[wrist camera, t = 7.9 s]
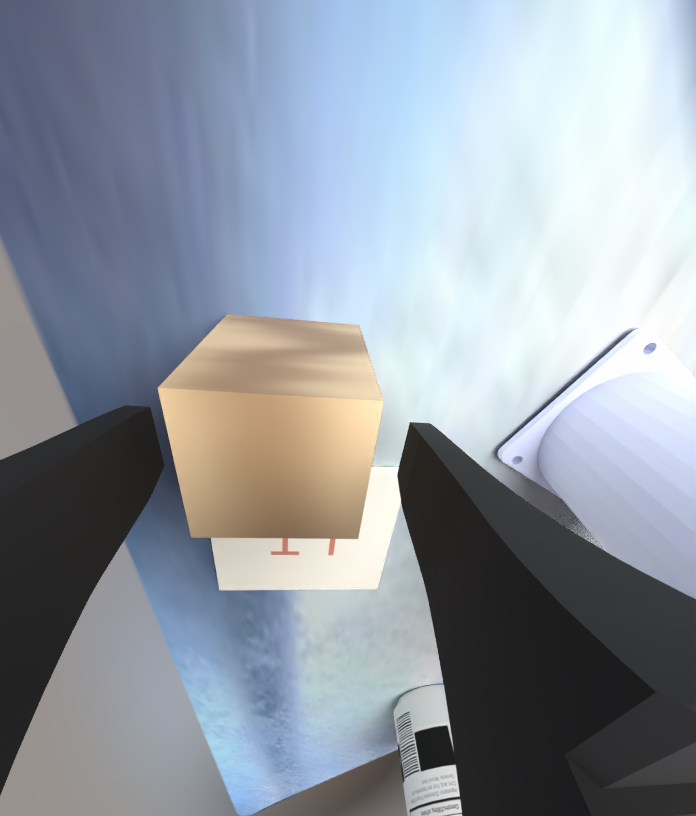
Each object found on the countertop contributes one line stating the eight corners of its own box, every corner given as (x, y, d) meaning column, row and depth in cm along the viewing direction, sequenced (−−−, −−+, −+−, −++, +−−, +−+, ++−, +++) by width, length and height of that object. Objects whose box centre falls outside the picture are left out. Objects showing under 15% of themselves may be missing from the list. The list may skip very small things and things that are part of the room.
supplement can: (479, 679, 32) (586, 995, 19) (459, 710, 36) (535, 985, 23) (398, 683, 31) (452, 1016, 18) (387, 715, 35) (425, 1002, 22)
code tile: (405, 467, 17) (408, 476, 16) (375, 580, 22) (377, 589, 21) (202, 460, 15) (198, 468, 15) (222, 580, 21) (219, 590, 20)
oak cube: (359, 324, 13) (383, 401, 8) (346, 429, 15) (358, 538, 10) (227, 313, 12) (157, 388, 7) (237, 424, 15) (191, 537, 10)
